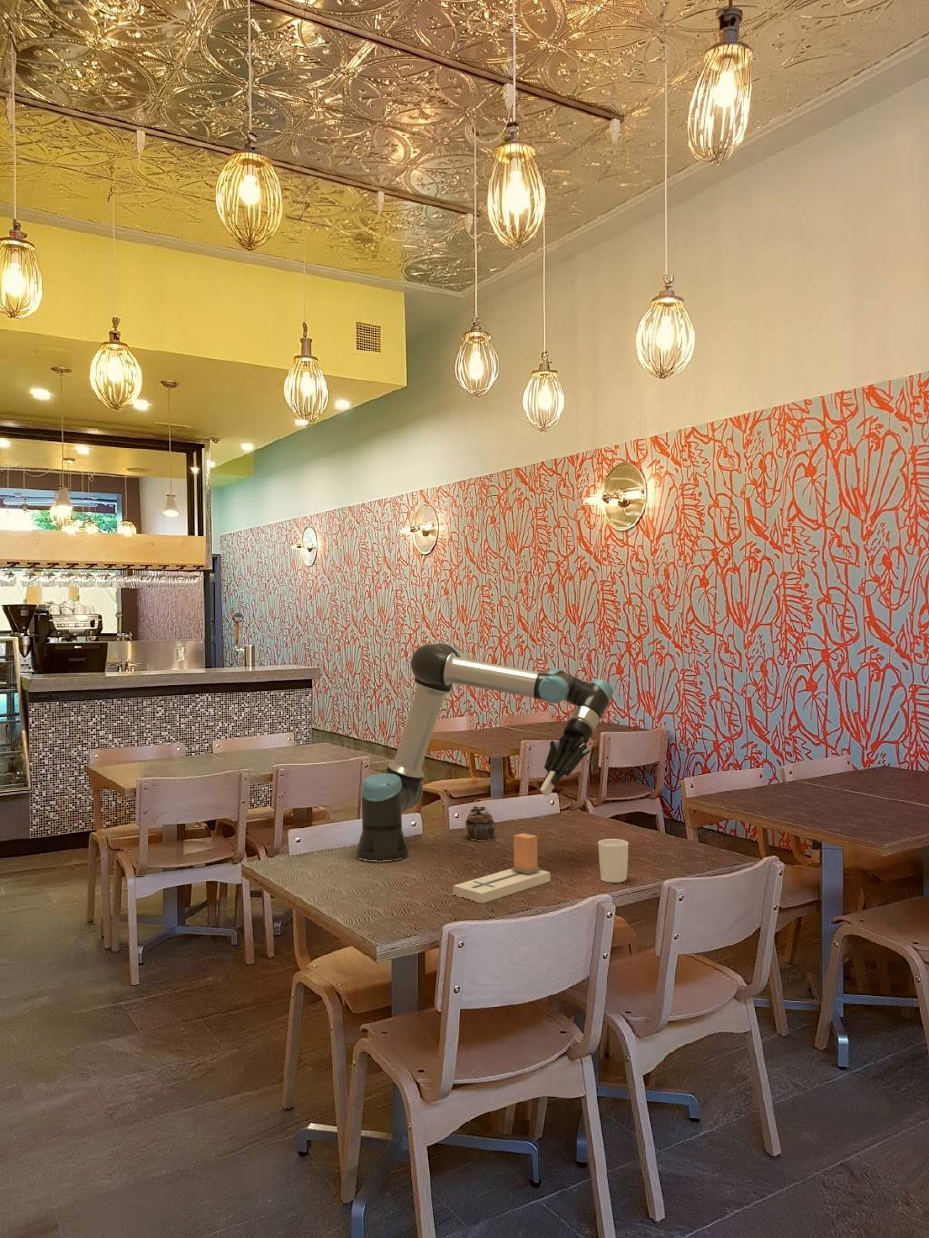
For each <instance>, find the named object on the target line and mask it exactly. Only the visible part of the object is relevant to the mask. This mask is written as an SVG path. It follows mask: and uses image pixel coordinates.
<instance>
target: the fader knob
mask: <svg viewBox="0 0 929 1238" xmlns="http://www.w3.org/2000/svg"><path fill="white" fill-rule="evenodd" d="M510 869H511V870H513V871H517V872H521V873H525V874H531V873H534V872H537V871H540V870H542V869H541V867H538V836H537V835H535V834H534V835H533V834H529V833H524V832H522V833H518V834H515V835H513V866H512V867H510Z"/></svg>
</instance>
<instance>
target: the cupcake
mask: <svg viewBox="0 0 929 1238" xmlns="http://www.w3.org/2000/svg"><path fill="white" fill-rule="evenodd" d="M496 823H497V822H495V820H493V816H492V815H491V813H490V812H489V810H488V809H486V807H485V806H481V807H478V806H476V805H475V806H473V807H472V809H470V811H469V813H468V815H467V819H466V820H465V826H466V827H465V828H466V832H467V835H468V836H467V837H468V839H469V838H470V839H476V840H488V839H492V840H493V839H494V836H495V829H496V825H497V824H496ZM470 839H469V840H470Z"/></svg>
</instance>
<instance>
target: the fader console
mask: <svg viewBox="0 0 929 1238" xmlns="http://www.w3.org/2000/svg"><path fill="white" fill-rule="evenodd" d="M549 882H551V871H547V870H542V869H541V870H540V871H537V872H534V873H531V874H525V873H521V872H517V871H513V870H511V868H508V869H505V870H502V871H499V872H495V873H492V874H488V875H485V876H482V877H478V878H475V879H472V880H467V881H465V882H460V883H457V884H453V885H452V888H453V889H452V891H453V892H452V893H453V894H452V895H453V896H454V895H456V896H455V897H457V896H458V898H461V897H464V898H463V899H465V898H467V899H466V900H468V899H470V900H469V901H472V900H473V901H472V902H476V903H479V904H484V903H488V902H491V901H494V900H497V899H500V898H504V897H506V896H510V895H512V894H515V893H518V892H521V891H524V890H528V889H531V888H534V887H537V886H540V885H544V884H546V883H549Z"/></svg>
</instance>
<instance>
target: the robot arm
mask: <svg viewBox="0 0 929 1238" xmlns="http://www.w3.org/2000/svg"><path fill="white" fill-rule="evenodd" d="M410 668H411V672H412V674H413V676H414V680H413V682H414V684H415V685H416V691H415V694H414V697H413V700H412V704H411V705H410V710H409V713H408V715H407V719H406V722H405V726H404V728H403V731H402V736H401V739H400V742H399V744H398V748H397V752H396V754H395V757H394V760H392V761H391V762H390V761H389V762H388V764H387V767H386V770H385V773H377V774H374V775H370V776H367V777H366V778H364V780H363V781H362V782H361V783H362V784H361V818H362V819H361V821H362V822H361V823H362V829H361V835H360V838H359V842H358V845H357V847H356V858H357V857H358V858H362V859H367V860H377V861H383V860H394V859H399V858H404V857H406V856H407V855H408V856H409V847H408V844H407V841H406V838H405V835H404V832H403V827H402V825H403V823H402V822H403V819H402V817H403V815H402V813H404V812H406V811H407V810H410V809H412V808H413V807H415V806H416V805H417V804H418V802H419V801H420V799H421V797H422V795H423V790H424V789H423V783H422V782H423V779H424V776H425V775H424V772H423V770H422V766H423V763H424V759H425V756H426V754H427V750H428V746H429V743H430V741H431V738H432V735H433V732H434V729H435V728H434V727H435V725H436V722H437V718H438V715H439V713H440V709H441V706H442V703H443V699H444V697H445V696H446V695H448V694H450V693H451V691H452V688H453V684H456V685H461V686H462V685H463V686H466V687H467V686H469V687H472V688H473V687H474V688H479V689H484V690H490V691H493V692H500V693H505V694H509V695H510V694H511V695H517V696H520V697H521V696H522V697H525V698H531V699H536V700H540V701H544V702H546V703H549V704H560V703H561V702H563V701H566V702H567V703H570V704H572V705H573V706H576V708H575V710H574V711H573V713H572V715H571V716H570V719H569V720H568V721H567V723H566V725H565V727H564V729H563V735H562V736H561V737H560V738H559V739H558V741H554V740H552V741H550V742H549V746H550V747H549V748H550V749H549V751H548V754H547V757H546V760H545V764H544V767H543V768H544V769H545V770H546V772H547V773H546V775H545V777H544V779H543V783H542V785H541V787H540V789H539V791H540V792H541V793H542V795H543V796H544V797H550V795H551V793H552V792H553V790H554V788H555V786H557V785H558V784H559V782H560V779H562V778H563V777H564V776H566V777H569V776H570V775H571V773H572V772H573V771H574V770H575V769H576V767H577V766H578V765H579V763H580V762H581V761H583V759H584V757H585V756H587V755H589V753H590V752H591V750H590V748H589V747H588V745H587V744H588V743H589V741H590V739H591V738H592V735H593V733H594V731H595V729H596V728H597V725H598V724H599V722H600V721H601V719H602V716H603V715H604V713H605V711H606V709H607V708H608V706H609V704H610V702H611V700H612V698H613V695H614V690H613V687H612V685H611V684H610V683H609V682H607V681H606V680H604V679H598V678H595V679H592V680H591V681H590V682H587V681H585V680H583V679H580V678H578V677H576V676H574V675H572V674H569V673H567V672H565V671H564V670H561V669H558V668H556V667H552V668H550V669H549V670H548V671H547V673H546V672H539V671H535V670H534V671H533V670H529V669H523V668H518V667H513V666H507V665H502V664H498V663H497V664H496V663H492V662H490V663H489V662H485V661H479V660H475V659H469V658H464V657H462V656H461V653H460V652H459V650H457V648H455V647H454V646H452V645H451V644H446V643H442V642H439V643H438V642H437V643H433V644H432V643H430V644H423V645H421V646H420V647H418V648H417V649H415V651H414V653H413V654H412V656H411V660H410ZM408 856H407V857H408ZM407 857H406V858H407ZM358 858H357V859H358ZM404 859H405V858H404Z"/></svg>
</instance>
